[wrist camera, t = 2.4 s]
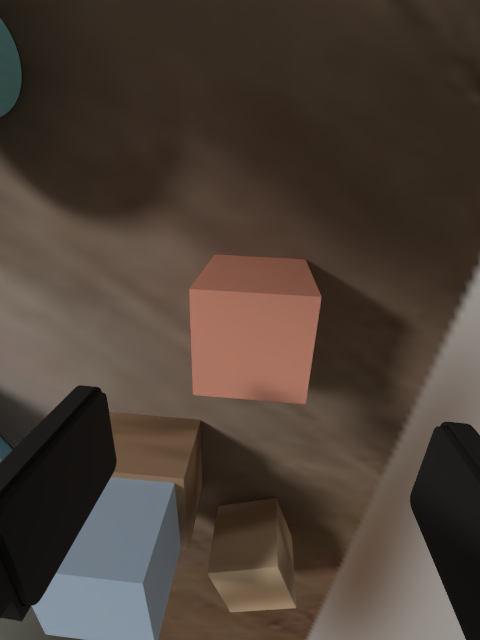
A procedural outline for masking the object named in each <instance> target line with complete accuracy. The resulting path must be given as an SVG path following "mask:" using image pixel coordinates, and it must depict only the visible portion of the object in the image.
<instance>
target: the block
mask: <svg viewBox="0 0 480 640" xmlns="http://www.w3.org/2000/svg"><path fill="white" fill-rule="evenodd" d="M207 574H208V575H209V577H210V579H211V580H212V582H213V584H214V585H215V587H216V589H217V590H218V592H219V594H220V595H221V597H222V599H223V600H224V602H225V604H226V605H227V607H228V609H229V610H230V612H241V611H257V610H273V609H288V608H296V596H295V580H294V563H293V547H292V536H291V533H290V531H289V528H288V526H287V523H286V521H285V518H284V516H283V513H282V511H281V508H280V506H279V503H278V501H277V498H272V499H264V500H257V501H250V502H243V503H235V504H228V505H221V506H218V509H217V516H216V522H215V528H214V535H213V541H212V547H211V553H210V560H209V566H208V572H207Z"/></svg>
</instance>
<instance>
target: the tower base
mask: <svg viewBox="0 0 480 640" xmlns="http://www.w3.org/2000/svg"><path fill="white" fill-rule="evenodd" d="M109 415H110V421H111V427H112V434H113V440H114V446H115V452H116V458H117V463H116V468H115V471H114V473H113V475H112V476H111V477H114V478H125V479H136V480H147V481H158V482H169V483H174V484H175V494H176V503H177V513H178V523H179V532H180V542H181V548H180V551H184V552H188V551H189V546H190V542H191V537H192V533H193V528H194V524H195V519H196V515H197V510H198V505H199V501H200V496H201V492H202V453H201V420H193V419H182V418H170V417H159V416H147V415H136V414H124V413H113V412H109Z"/></svg>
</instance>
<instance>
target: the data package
mask: <svg viewBox="0 0 480 640" xmlns="http://www.w3.org/2000/svg"><path fill="white" fill-rule="evenodd" d="M12 451H13V450H12V448H11V447H10V446H9V445H8V444H7V443H6V442H5V441H4V440H3V438H2V437H1V436H0V462H1V461H2V460H3V459H4V458H5V457H6V456H7V455H8V454H9V453H10V452H12Z"/></svg>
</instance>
